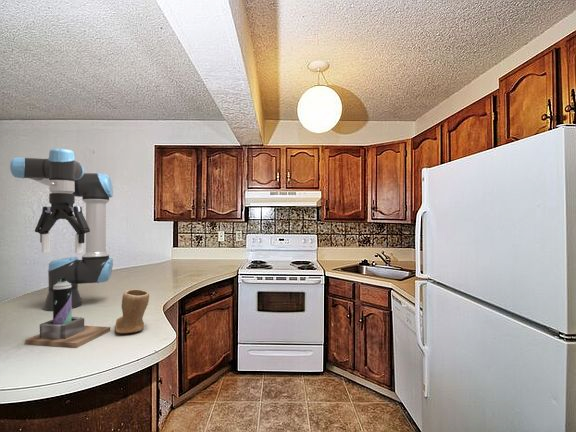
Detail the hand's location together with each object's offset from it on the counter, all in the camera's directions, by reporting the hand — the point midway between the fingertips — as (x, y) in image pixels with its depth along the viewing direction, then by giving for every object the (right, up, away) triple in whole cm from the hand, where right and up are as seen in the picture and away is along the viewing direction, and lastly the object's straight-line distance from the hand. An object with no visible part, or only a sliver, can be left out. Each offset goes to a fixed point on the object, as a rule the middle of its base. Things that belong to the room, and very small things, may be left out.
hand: (62, 252), depth 118 cm
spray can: (0, -29, 0) cm, 29 cm away
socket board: (+2, -31, +1) cm, 31 cm away
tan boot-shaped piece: (+21, -31, +9) cm, 38 cm away
